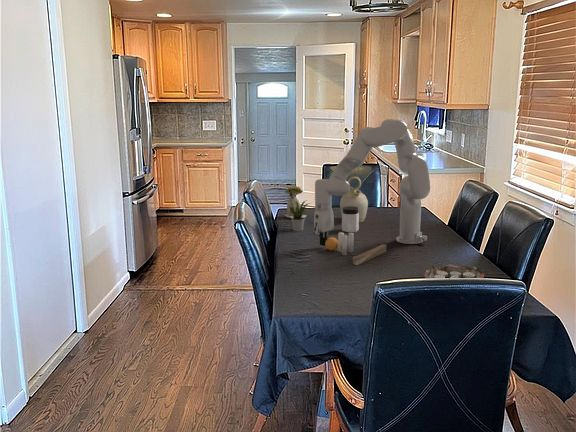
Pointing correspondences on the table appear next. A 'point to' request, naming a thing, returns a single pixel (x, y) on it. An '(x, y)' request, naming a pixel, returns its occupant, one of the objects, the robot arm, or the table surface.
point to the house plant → (297, 216)
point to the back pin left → (344, 244)
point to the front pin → (340, 242)
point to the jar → (350, 219)
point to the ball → (331, 243)
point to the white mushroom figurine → (293, 200)
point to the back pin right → (350, 242)
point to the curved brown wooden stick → (369, 254)
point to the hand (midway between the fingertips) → (323, 244)
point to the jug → (355, 200)
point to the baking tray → (454, 272)
